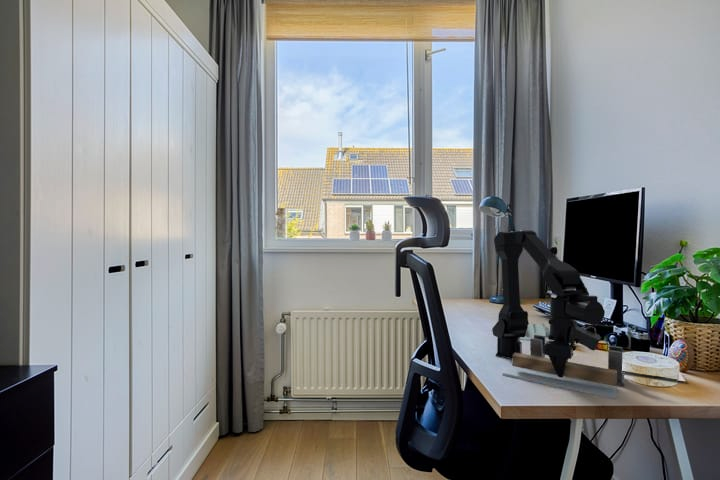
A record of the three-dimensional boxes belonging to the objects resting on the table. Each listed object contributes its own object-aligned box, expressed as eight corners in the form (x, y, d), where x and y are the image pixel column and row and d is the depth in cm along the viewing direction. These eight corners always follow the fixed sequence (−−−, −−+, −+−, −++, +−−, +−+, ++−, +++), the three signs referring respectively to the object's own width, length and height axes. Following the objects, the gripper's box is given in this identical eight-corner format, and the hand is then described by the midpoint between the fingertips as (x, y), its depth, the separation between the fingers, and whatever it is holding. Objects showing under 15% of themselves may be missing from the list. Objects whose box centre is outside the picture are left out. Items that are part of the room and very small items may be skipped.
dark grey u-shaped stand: (527, 368, 111) (528, 339, 111) (532, 361, 116) (533, 333, 116) (624, 386, 98) (624, 353, 97) (624, 378, 103) (624, 347, 103)
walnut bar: (512, 365, 106) (512, 355, 106) (514, 362, 108) (515, 352, 108) (616, 386, 92) (616, 374, 92) (616, 382, 94) (617, 370, 94)
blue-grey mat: (502, 375, 105) (502, 372, 105) (509, 367, 111) (509, 365, 111) (616, 399, 90) (616, 396, 90) (616, 389, 96) (616, 386, 96)
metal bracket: (511, 317, 153) (553, 320, 148) (511, 330, 154) (552, 333, 150) (515, 336, 140) (560, 339, 135) (514, 350, 141) (559, 354, 137)
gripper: (595, 327, 87) (594, 395, 88) (600, 313, 103) (599, 371, 103) (542, 321, 94) (541, 383, 94) (554, 308, 109) (553, 363, 109)
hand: (561, 375), depth 100 cm, fingers closed on walnut bar, 3 cm apart
